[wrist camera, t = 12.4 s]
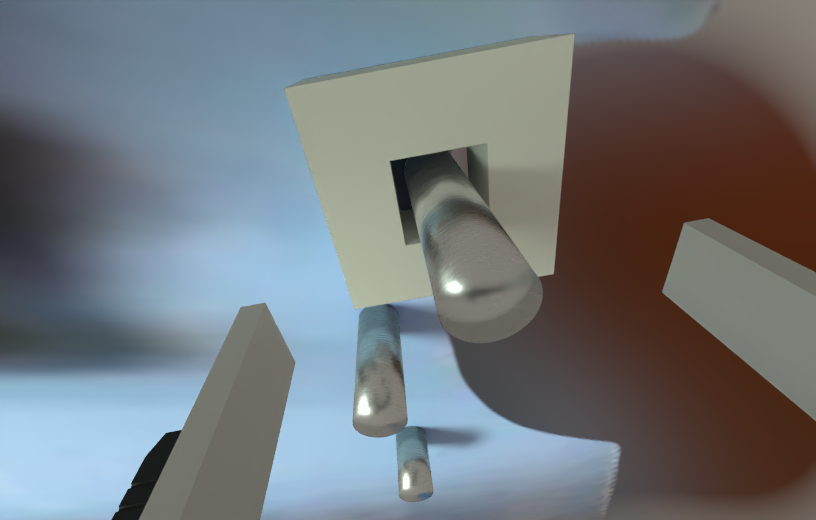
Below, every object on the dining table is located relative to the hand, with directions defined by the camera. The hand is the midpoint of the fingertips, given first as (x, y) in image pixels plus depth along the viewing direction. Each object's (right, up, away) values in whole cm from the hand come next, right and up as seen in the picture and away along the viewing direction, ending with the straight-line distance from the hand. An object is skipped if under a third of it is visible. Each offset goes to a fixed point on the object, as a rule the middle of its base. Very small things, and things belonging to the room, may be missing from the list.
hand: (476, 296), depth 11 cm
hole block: (-1, +7, +12) cm, 14 cm away
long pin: (-1, +7, +12) cm, 14 cm away
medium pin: (-5, -4, +18) cm, 19 cm away
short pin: (-2, -19, +28) cm, 34 cm away
